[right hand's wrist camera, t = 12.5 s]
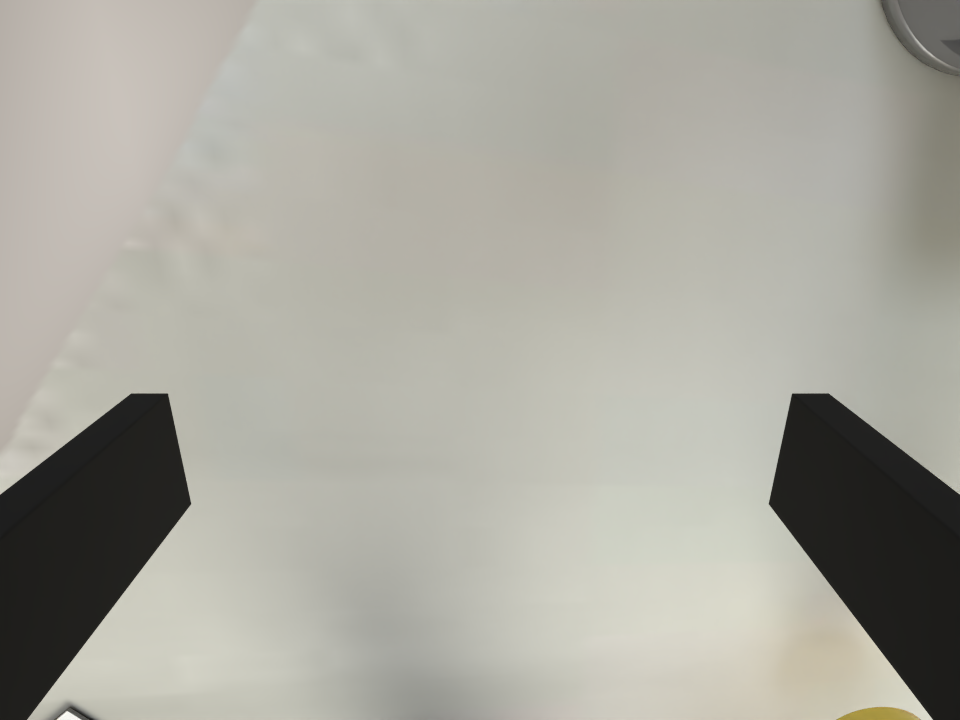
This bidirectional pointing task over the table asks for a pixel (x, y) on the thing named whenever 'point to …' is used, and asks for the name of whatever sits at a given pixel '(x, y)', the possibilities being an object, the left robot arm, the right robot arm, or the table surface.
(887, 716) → the tin
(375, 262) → the table surface
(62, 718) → the tablet
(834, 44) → the table surface
